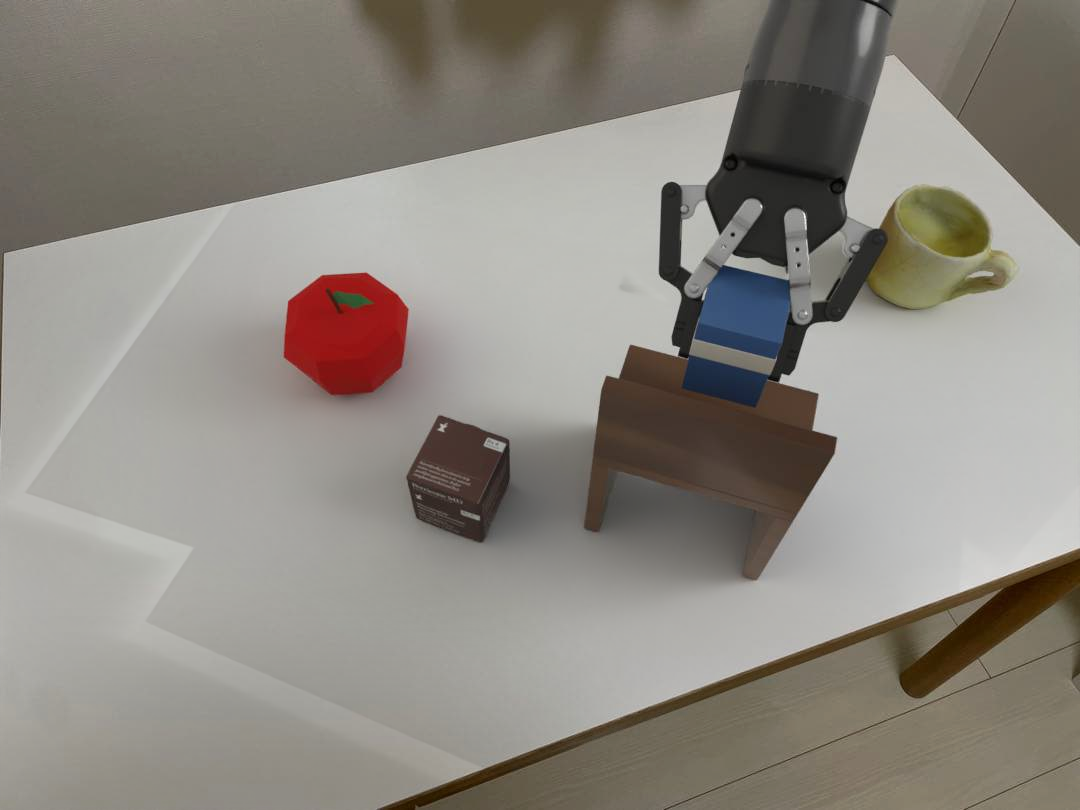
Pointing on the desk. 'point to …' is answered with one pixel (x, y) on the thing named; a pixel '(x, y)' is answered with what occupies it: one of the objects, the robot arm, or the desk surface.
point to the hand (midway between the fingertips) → (728, 366)
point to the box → (460, 478)
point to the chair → (709, 446)
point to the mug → (937, 250)
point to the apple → (346, 332)
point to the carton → (738, 335)
